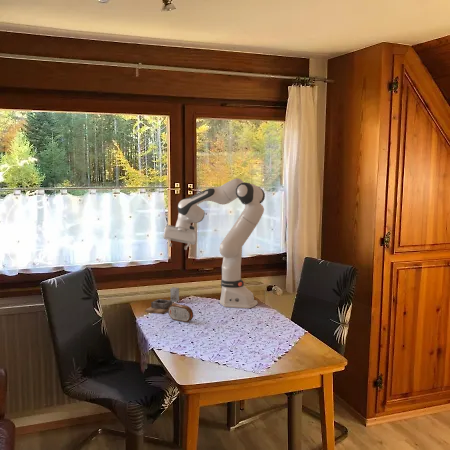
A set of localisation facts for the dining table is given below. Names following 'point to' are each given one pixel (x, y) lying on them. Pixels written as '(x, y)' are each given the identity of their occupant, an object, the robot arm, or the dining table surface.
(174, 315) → the tin
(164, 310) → the socket board
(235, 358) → the dining table surface
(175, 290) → the key block
